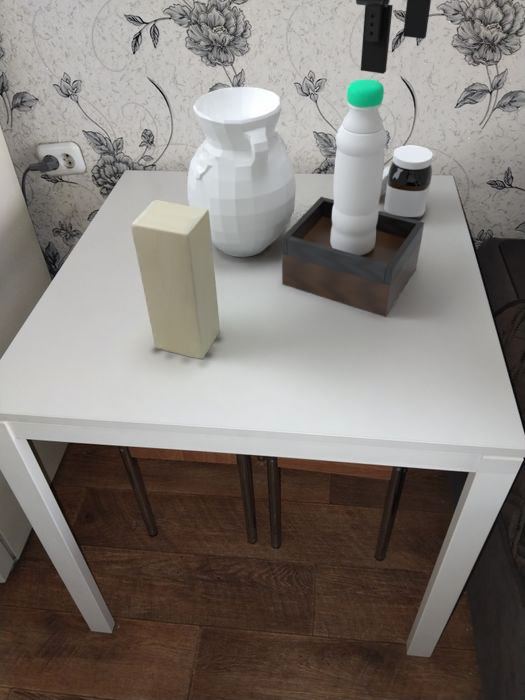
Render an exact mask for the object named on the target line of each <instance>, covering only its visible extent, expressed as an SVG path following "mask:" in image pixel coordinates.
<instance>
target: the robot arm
mask: <svg viewBox="0 0 525 700" xmlns="http://www.w3.org/2000/svg"><path fill="white" fill-rule="evenodd" d="M390 1H391V0H355V4H356V5H357V6H358V5H359V6H364V15H363V16H364V17H363V29H362V31H363V32H362V43H361V44H362V45H361V57H360V71H361V72H369V73H376V74H382V75H383V74H386V72H387V65H388V57H389V55H388V54H389V45H390V44H389V43H390V36H391V28H392V27H391V26H392V18H393V17H392V16H393V8H394V7H393V5H394V4H390ZM431 4H432V0H406V7H405V16H404V23H403V33H402V36H403V37H404V38H406V37H407V38H414V39H421V40H422V39H426V37H427V34H428V33H427V31H428V25H429V18H430V10H431Z"/></svg>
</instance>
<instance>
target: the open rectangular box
mask: <svg viewBox="0 0 525 700" xmlns="http://www.w3.org/2000/svg"><path fill="white" fill-rule="evenodd" d="M333 205H334V198H329V197H324V196H320V197H319V198H318V200H316V201H315V202H314V204H313V205H311V207H309V209H308V210H306V211H305V213H304V214H303V215H302V216H301V217H300V218H299V219H298V220H297V221H296V222H295V223H294V224H293V226H292V227H290V228H289V229H288V230H287V232H285V234H284V235H283V236H282V237H281V275H282V276H281V277H282V278H281V280H282V282H281V283H282V285H284V286H287V287H291V288H293V289H297V290H300V291H303V292H306V293H310V294H312V295H315V296H317V297H322V298H325V299H328V300H331V301H334V302H338V303H339V304H344V305H347V306H350V307H353V308H356V309H359V310H363V311H366V312H369V313H372V314H375V315H378V316H380V317H384V318H385V317H387V315H388V314H389V312H390V311H391V310H392V307H393V306H394V304H395V303H396V301H397V300H398V299H399V297H400V295H401V293H402V292H403V290H404V289H405V287H406V285H407V284H408V283H409V281H410V280H411V278H412V276H413V275H414V273H415V271H416V270H417V265H418V260H419V255H420V249H421V244H422V238H423V232H424V228H425V222H424V221H420V220H418V219H417V220H413V219H409V218H405V217H401V216H397V215H393V214H389V213H385V211H381V210H378V221H377V225H376V241H375V246H374V248H373V249H372V250H371V251H370V252H369V253H367V254H365V255H362V256H359V255H355V254H352V253H348V252H345V251H341V250H338V249H334V248H332V246H331V243H330V237H331V229H332V209H333Z"/></svg>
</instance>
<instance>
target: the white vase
mask: <svg viewBox="0 0 525 700" xmlns="http://www.w3.org/2000/svg"><path fill="white" fill-rule="evenodd" d="M192 108H193V111H194V114H195V117H196V119H197V121H198V123H199V125H200V128H201V130H202V131H203V134H204V137H205V139H204V140H203V142H202V143H201V144H200V145H199V146H198V148H197V150H195V153H194V154H193V157H192V158H191V160H190V163H189V166H188V167H189V168H188V173H187V179H186V180H187V181H186V189H187V190H186V191H187V193H186V194H187V197H186V198H187V204H188V206H194V207H200V208H205V209H208V211H209V218H210V229H211V239H212V245H214V246H215V247H216V248H217V249H218V250H220V252H222V253H224V254H225V255H228V256H231V257H234V258H235V257H236V258H247V257H254V256H256V255H259V254H260V253H262V252H264V251H266V249H267V248H268V247H269V246H270V245H271V244H272V243H274V242H275V241H276V240H277V239H278V237H279V236H280V235H281V234H282V233H283V231H284V230H285V229H286V228H287V226H288V225H289V224H290V222H291V220H292V218H293V215H294V211H295V205H296V191H297V190H296V187H297V183H296V178H295V177H296V176H295V169H294V167H293V164H292V162H291V159H290V158H289V155H288V153H287V150H288V145H287V143H286V141H285V140H284V138H283V136H282V135H281V133H279V131H275V129H276V127H277V124H278V122H279V119H280V117H281V112H282V99H281V98H280V96H278V94H276V93H275V92H274V91H271V90H268V89H266V88H261V87H256V86H233V87H231V86H230V87H223V88H218V89H215V90H212V91H209V92H207V93H205V94H202V95H200V97H198V98H197V99H196V100H195V102H194V104H193V106H192Z"/></svg>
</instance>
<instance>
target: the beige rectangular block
mask: <svg viewBox="0 0 525 700" xmlns="http://www.w3.org/2000/svg"><path fill="white" fill-rule="evenodd" d="M130 228H131V234H132V239H133V244H134V249H135V254H136V259H137V263H138V268H139V273H140V274H139V275H140V278H141V284H142V289H143V294H144V298H145V305H146V308H147V313H148V318H149V324H150V328H151V329H150V330H151V334H152V338H153V343H154V344H153V345H154V347H155V348H156V349H159V350H161V351H166V352H169V353H174V354H178V355H182V356H186V357H191V358H194V359H199V360H203V359H204V358H205V357H206V355H207V354H208V352H209V350H210V349H211V347H212V345H214V342H215V341H216V339H217V337H218V335H219V334H220V332H221V329H220V315H219V303H218V295H217V285H216V274H215V273H216V272H215V264H214V252H213V244H212V239H211V229H210V218H209V211H208V209H205V208H200V207H194V206H189V204H188V205H187V204H183V203H177V202H170V201H165V200H159V199H154V200H152V202H151V203H150V204H149V205H148V206H147V207H146V208H145V209H144V210H143V211H142V212H141V213H140V214H139V215H138V216H137V217H136V218H135V219H134V221H133V222H132V223H131V225H130Z"/></svg>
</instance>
